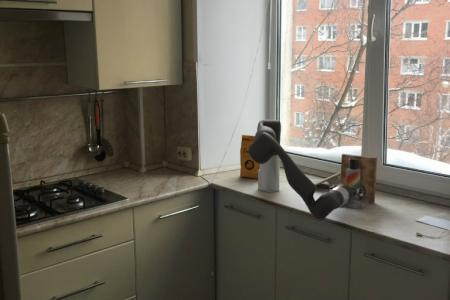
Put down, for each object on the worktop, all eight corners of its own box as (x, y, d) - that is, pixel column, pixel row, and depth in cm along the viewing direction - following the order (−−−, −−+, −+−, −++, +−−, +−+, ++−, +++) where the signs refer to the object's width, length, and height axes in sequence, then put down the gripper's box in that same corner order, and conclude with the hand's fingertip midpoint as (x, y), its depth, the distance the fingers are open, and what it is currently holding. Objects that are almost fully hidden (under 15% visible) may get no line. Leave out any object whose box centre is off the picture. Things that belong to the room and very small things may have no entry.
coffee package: (259, 180, 267) (260, 137, 263) (237, 178, 272) (237, 135, 268) (266, 176, 276) (267, 134, 271) (245, 173, 281) (245, 133, 277)
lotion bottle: (343, 201, 230) (345, 156, 226) (356, 201, 231) (358, 156, 227) (348, 205, 225) (349, 159, 221) (361, 205, 225) (362, 159, 221)
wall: (322, 200, 246) (348, 181, 242) (311, 185, 247) (336, 166, 244) (326, 196, 262) (351, 178, 258) (315, 182, 263) (339, 164, 259)
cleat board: (331, 204, 227) (333, 158, 223) (341, 197, 237) (343, 153, 233) (365, 209, 219) (368, 162, 215) (374, 202, 229) (377, 157, 225)
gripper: (322, 202, 215) (337, 192, 228) (356, 207, 207) (369, 198, 221) (323, 184, 214) (337, 176, 227) (357, 189, 206) (370, 180, 219)
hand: (353, 186), depth 224 cm, fingers open, 8 cm apart
